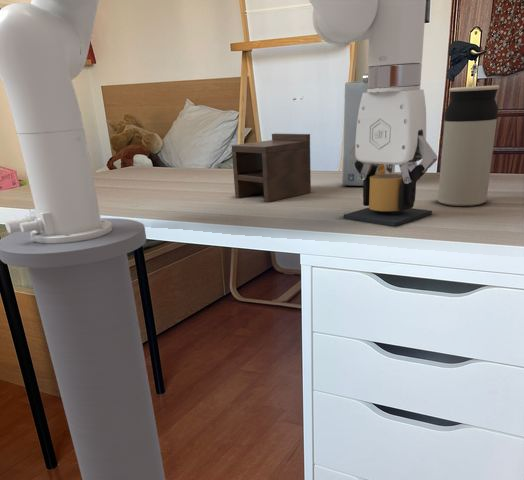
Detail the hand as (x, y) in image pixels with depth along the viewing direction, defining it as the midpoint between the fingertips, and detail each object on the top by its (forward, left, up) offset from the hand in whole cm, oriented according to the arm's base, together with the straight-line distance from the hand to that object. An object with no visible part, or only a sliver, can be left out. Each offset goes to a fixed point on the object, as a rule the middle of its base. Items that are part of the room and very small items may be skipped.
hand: (387, 205), depth 84 cm
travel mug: (+16, -4, -2) cm, 17 cm away
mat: (0, 0, -2) cm, 2 cm away
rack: (+4, +31, -2) cm, 31 cm away
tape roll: (0, 0, 0) cm, 0 cm away
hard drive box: (+27, +24, -2) cm, 36 cm away
